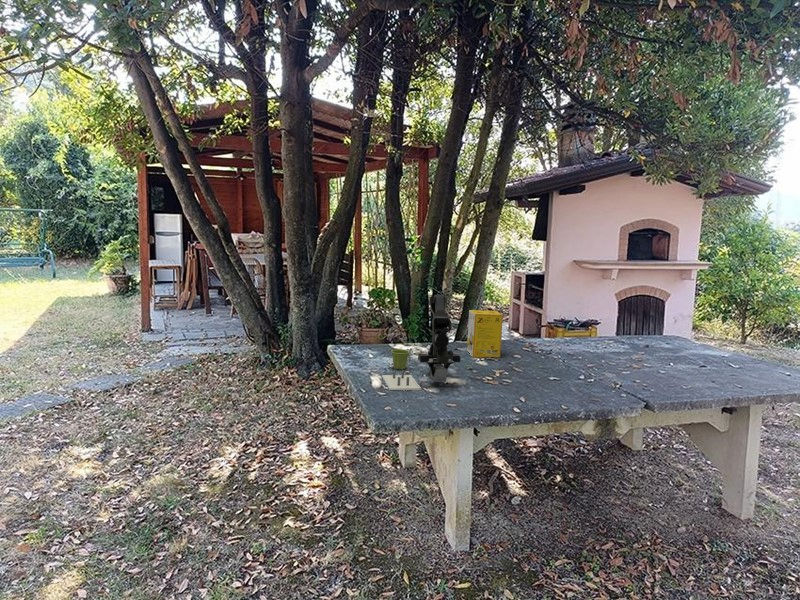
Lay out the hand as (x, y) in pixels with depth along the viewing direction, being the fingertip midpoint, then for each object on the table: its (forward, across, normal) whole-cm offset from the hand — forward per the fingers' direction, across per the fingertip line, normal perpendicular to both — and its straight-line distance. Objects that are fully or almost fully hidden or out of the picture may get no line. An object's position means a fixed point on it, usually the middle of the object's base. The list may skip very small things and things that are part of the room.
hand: (438, 376), depth 243 cm
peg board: (+4, -17, +2) cm, 18 cm away
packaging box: (+4, +44, +61) cm, 75 cm away
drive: (+1, 0, 0) cm, 1 cm away
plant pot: (+4, -12, +30) cm, 33 cm away
